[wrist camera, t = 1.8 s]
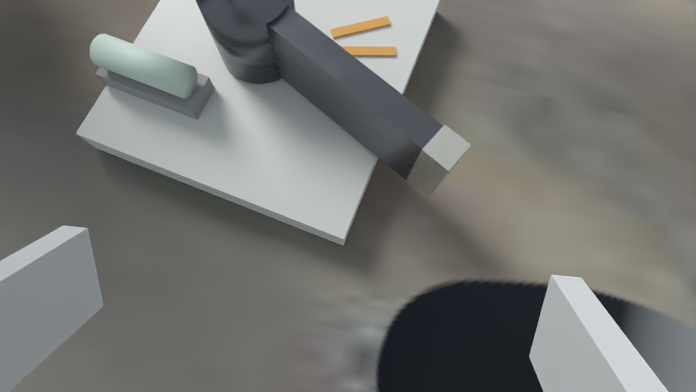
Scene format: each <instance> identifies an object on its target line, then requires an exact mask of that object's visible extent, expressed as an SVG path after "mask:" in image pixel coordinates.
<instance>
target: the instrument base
mask: <svg viewBox="0 0 696 392" xmlns="http://www.w3.org/2000/svg"><path fill="white" fill-rule="evenodd" d="M294 3H295V10H296V12H297V13H299V14H300V15H301V16H302V17H304V18H305V19H306V20H308V21H309V22H310V23H311V24H313V25H314V26H315V27H317V28H318V29H319V30H320V31H322V32H323V33H324V34H326V35H327V36H328V37H329V38H331V39H332V40H333V41H334V42H336V43H337V44H338V45H340V46H341V47H342V48H343V49H345V50H346V51H347V52H349V53H350V54H351V55H352V56H354V57H355V58H356V59H358V60H359V61H360V62H361V63H363V64H364V65H365V66H367V67H368V68H369V69H370V70H372V71H373V72H374V73H376V74H377V75H378V76H379V77H381V78H382V79H383V80H385V81H386V82H387V83H388V84H390V85H391V86H392V87H394V88H395V89H396V90H397V91H399V92H400V93H401V94H403V95H404V93H405V90H406V87H407V85H408V82H409V80H410V77H411V75H412V72H413V70H414V67H415V65H416V62H417V60H418V57H419V55H420V52H421V50H422V47H423V45H424V42H425V40H426V37H427V35H428V32H429V30H430V27H431V25H432V22H433V20H434V17H435V15H436V12H437V9H438V6H439V3H440V0H294ZM90 58H91V60H92V62H93V63H94V64H95V65H96V66H99V68H98V70H97V71H96V73H95V74H96V75H97V76H98V77H99V78H100V79H101V80H102V81H103V82H104V83H105V84H106V87H105V88H104V90H103V91H102V93H101V94H100V96H99V98H98V99H97V101H96V102H95V104H94V105H93V107H92V109H91V110H90V112H89V113H88V115H87V116H86V118H85V120H84V121H83V123H82V124H81V126H80V127H79V129H78V131H77V132H76V134H77V135H78V136H80V137H81V138H83V139H84V140H86V141H87V142H88V143H90V144H91V145H93V146H94V147H96V148H97V149H99V150H102V151H104V152H107V153H109V154H112V155H114V156H117V157H120V158H122V159H125V160H127V161H130V162H132V163H135V164H137V165H140V166H142V167H145V168H147V169H150V170H152V171H155V172H157V173H160V174H162V175H165V176H168V177H170V178H173V179H175V180H178V181H180V182H183V183H185V184H188V185H190V186H193V187H195V188H198V189H200V190H203V191H205V192H208V193H211V194H213V195H216V196H218V197H221V198H223V199H226V200H228V201H231V202H233V203H236V204H238V205H241V206H243V207H246V208H248V209H251V210H254V211H256V212H259V213H261V214H264V215H266V216H269V217H271V218H274V219H276V220H279V221H281V222H284V223H286V224H289V225H291V226H294V227H297V228H299V229H302V230H304V231H307V232H309V233H312V234H314V235H317V236H319V237H322V238H324V239H327V240H329V241H332V242H334V243H337V244H339V245H342V246H343V245H344V243H345V240H346V238H347V235H348V233H349V230H350V228H351V225H352V223H353V220H354V218H355V215H356V213H357V210H358V208H359V205H360V203H361V200H362V198H363V195H364V193H365V190H366V188H367V185H368V183H369V180H370V178H371V175H372V173H373V170H374V168H375V165H376V163H377V160H378V157H377V156H376V155H374V154H373V153H372V152H371V151H370V150H368V149H367V148H366V147H365V146H363V145H362V144H361V143H360V142H359V141H357V140H356V139H355V138H354V137H352V136H351V135H350V134H349V133H348V132H346V131H345V130H344V129H343V128H342V127H340V126H339V125H338V124H337V123H335V122H334V121H333V120H332V119H331V118H329V117H328V116H327V115H326V114H325V113H323V112H322V111H321V110H320V109H318V108H317V107H316V106H315V105H314V104H312V103H311V102H310V101H309V100H308V99H306V98H305V97H304V96H303V95H301V94H300V93H299V92H298V91H297V90H295V89H294V88H293V87H292V86H290V85H289V84H288V83H287V82H286V81H284V80H283V79H282V78H281V79H279V80H277V81H274V82H270V83H265V84H254V83H249V82H245V81H243V80H240V79H238V78H237V77H235V76H234V75H233V74H232V73H231V72H229V70H228V69H227V68H226V66H225V64H224V62H223V60H222V58H221V56H220V53H219V51H218V49H217V47H216V44H215V42H214V40H213V38H212V36H211V33H210V31H209V29H208V27H207V25H206V22H205V20H204V18H203V16H202V14H201V11H200V9H199V7H198V5H197V2H196V0H160V2H159V3H158V5H157V6H156V8H155V10H154V11H153V13H152V14H151V16H150V17H149V19H148V21H147V22H146V24H145V25H144V27H143V28H142V30H141V32H140V33H139V35H138V36H137V38H136V39H135V41H134V43H133V44H132V43H129V42H126V41H123V40H121V39H118V38H115V37H113V36H110V35H107V34H99V35H97V36H96V37H95V38H94V39H93V41H92V43H91V46H90Z"/></svg>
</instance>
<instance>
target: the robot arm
mask: <svg viewBox="0 0 696 392" xmlns="http://www.w3.org/2000/svg"><path fill="white" fill-rule="evenodd" d="M102 307H103V301H102V296H101V291H100V286H99V281H98V276H97V271H96V266H95V261H94V256H93V251H92V246H91V241H90V236H89V231H88V228H83V227H74V226H64V225H63V226H62V227H60V228H58V229H56V230H55V231H53V232H51V233H49V234H47V235H46V236H44V237H42V238H40V239H38V240H37V241H35V242H33V243H31V244H30V245H28V246H26V247H24V248H22V249H21V250H19V251H17V252H15V253H13V254H12V255H10V256H8V257H6V258H5V259H3V260H1V261H0V392H10V391H11V390H12V389H13V388H14V387H15V386H16V385H17V384H18V383H20V382H21V381H22V380H23V379H24V378H25V377H26V376H27V375H28V374H29V373H31V372H32V371H33V370H34V369H35V368H36V367H37V366H38V365H39V364H40V363H42V362H43V361H44V360H45V359H46V358H47V357H48V356H49V355H50V354H51V353H53V352H54V351H55V350H56V349H57V348H58V347H59V346H60V345H61V344H62V343H64V342H65V341H66V340H67V339H68V338H69V337H70V336H71V335H72V334H73V333H75V332H76V331H77V330H78V329H79V328H80V327H81V326H82V325H83V324H84V323H86V322H87V321H88V320H89V319H90V318H91V317H92V316H93V315H94V314H95V313H97V312H98V311H99V310H100V309H101V308H102ZM529 357H530V360H531V362H532V364H533V367H534V369H535V372H536V374H537V377H538V379H539V381H540V384H541V386H542V389H543V391H544V392H668V391H667V390H666V388H665V387H664V386H663V384H662V383H661V382H660V380H659V379H658V378H657V376H656V375H655V374H654V372H653V371H652V370H651V368H650V367H649V366H648V365H647V363H646V362H645V361H644V359H643V358H642V357H641V355H640V354H639V353H638V352H637V350H636V349H635V348H634V346H633V345H632V344H631V342H630V341H629V340H628V338H627V337H626V336H625V334H624V333H623V332H622V330H621V329H620V328H619V327H618V325H617V324H616V323H615V321H614V320H613V319H612V318H611V316H610V315H609V313H608V312H607V311H606V309H605V308H604V307H603V306H602V304H601V303H600V302H599V300H598V299H597V298H596V296H595V295H594V294H593V292H592V291H591V290H590V288H589V287H588V286H587V285H586V283H585V282H584V281H583V279H582V278H580V277H570V276H560V275H551V277H550V281H549V284H548V288H547V293H546V296H545V300H544V303H543V307H542V311H541V314H540V318H539V322H538V326H537V330H536V333H535V337H534V341H533V344H532V348H531V352H530V356H529Z"/></svg>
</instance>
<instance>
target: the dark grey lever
mask: <svg viewBox="0 0 696 392" xmlns="http://www.w3.org/2000/svg"><path fill="white" fill-rule="evenodd" d="M196 2H197V5H198V7H199V9H200V11H201V14H202V16H203V18H204V20H205V22H206V25H207V27H208V29H209V31H210V33H211V36H212V38H213V40H214V42H215V44H216V47H217V49H218V51H219V53H220V56H221V58H222V60H223V62H224V64H225V66H226V68H227V69H228V70H229V72H231V73H232V74H233V75H234V76H235V77H237V78H238V79H240V80H243V81H245V82H249V83H254V84H265V83H270V82H274V81H277V80H279V79H281V78H282V79H283V80H284V81H286V82H287V83H288V84H289V85H290V86H292V87H293V88H294V89H295V90H297V91H298V92H299V93H300V94H301V95H303V96H304V97H305V98H306V99H308V100H309V101H310V102H311V103H312V104H314V105H315V106H316V107H317V108H318V109H320V110H321V111H322V112H323V113H325V114H326V115H327V116H328V117H329V118H331V119H332V120H333V121H334V122H335V123H337V124H338V125H339V126H340V127H342V128H343V129H344V130H345V131H346V132H348V133H349V134H350V135H351V136H352V137H354V138H355V139H356V140H357V141H359V142H360V143H361V144H362V145H363V146H365V147H366V148H367V149H368V150H370V151H371V152H372V153H373V154H374V155H376V156H377V157H378V158H379V159H380V160H382V161H383V162H384V163H385V164H387V165H388V166H389V167H390V168H391V169H393V170H394V171H395V172H396V173H397V174H399V175H400V176H401V177H402V178H404V179H405V180H406V183H407V184H408V185H409V186H411V187H412V188H413V189H414V190H415V191H417V192H418V193H419V194H420V195H421V196H423V197H424V198H425V199H426V200H427V198H428V197H429V196H430V195H431V194H432V193H433V192H434V190H435V189H436V188H437V187H438V186H439V185H440V183H441V182H442V181H443V180H444V179H445V178H446V176H447V175H448V174H449V173H450V171H451V170H452V169H453V167H454V166H455V165H456V164H457V162H458V161H459V160H460V159H461V157H462V156H463V155H464V154H465V152H466V151H467V150H468V149H469V147H470V146H471V144H469V143H468V142H467V141H465V140H464V139H463V138H462V137H460V136H459V135H458V134H456V133H455V132H454V131H453V130H451V129H450V128H449V127H447V126H446V125H444V126H442V125H441V124H440V123H438V122H437V121H436V120H435V119H433V118H432V117H431V116H429V115H428V114H427V113H426V112H424V111H423V110H422V109H420V108H419V107H418V106H417V105H415V104H414V103H413V102H411V101H410V100H409V99H408V98H406V97H405V96H404V95H403V94H401V93H400V92H399V91H397V90H396V89H395V88H394V87H392V86H391V85H390V84H388V83H387V82H386V81H385V80H383V79H382V78H381V77H379V76H378V75H377V74H376V73H374V72H373V71H372V70H370V69H369V68H368V67H367V66H365V65H364V64H363V63H361V62H360V61H359V60H358V59H356V58H355V57H354V56H352V55H351V54H350V53H349V52H347V51H346V50H345V49H343V48H342V47H341V46H340V45H338V44H337V43H336V42H334V41H333V40H332V39H331V38H329V37H328V36H327V35H326V34H324V33H323V32H322V31H320V30H319V29H318V28H317V27H315V26H314V25H313V24H311V23H310V22H309V21H308V20H306V19H305V18H304V17H302V16H301V15H300V14H299V13H297V12H296V10H295V3H294V0H196Z"/></svg>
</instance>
